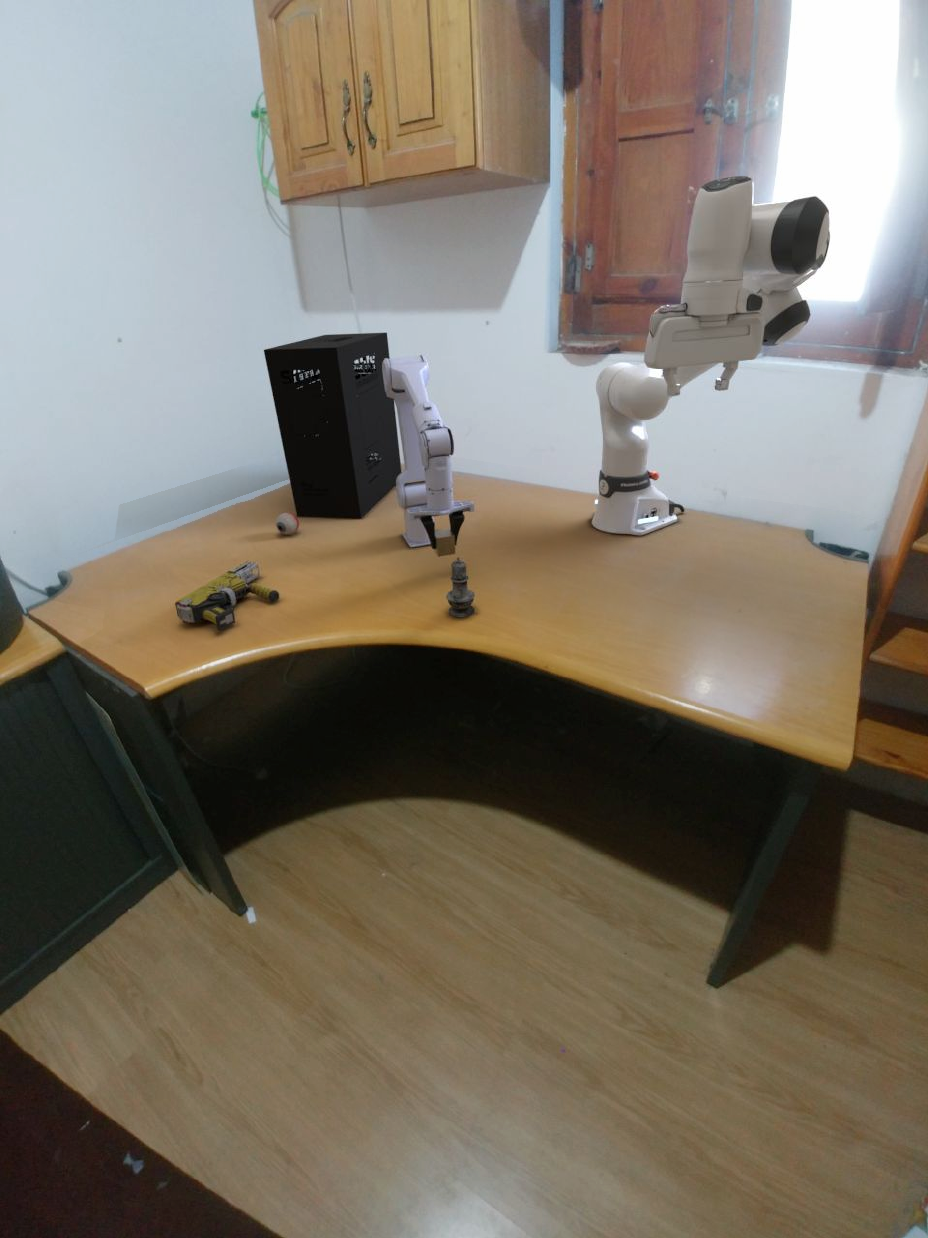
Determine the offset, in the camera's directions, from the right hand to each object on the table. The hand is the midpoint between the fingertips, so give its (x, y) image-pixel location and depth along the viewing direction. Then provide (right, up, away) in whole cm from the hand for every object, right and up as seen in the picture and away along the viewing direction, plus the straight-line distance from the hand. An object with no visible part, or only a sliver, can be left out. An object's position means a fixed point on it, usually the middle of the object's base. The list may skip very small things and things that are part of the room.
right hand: (697, 392), depth 103 cm
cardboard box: (-75, 0, +88) cm, 116 cm away
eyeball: (-88, -16, +62) cm, 109 cm away
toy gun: (-88, -35, +28) cm, 99 cm away
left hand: (-45, -22, +32) cm, 59 cm away
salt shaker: (-40, -37, +20) cm, 58 cm away
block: (-44, -24, +32) cm, 60 cm away
